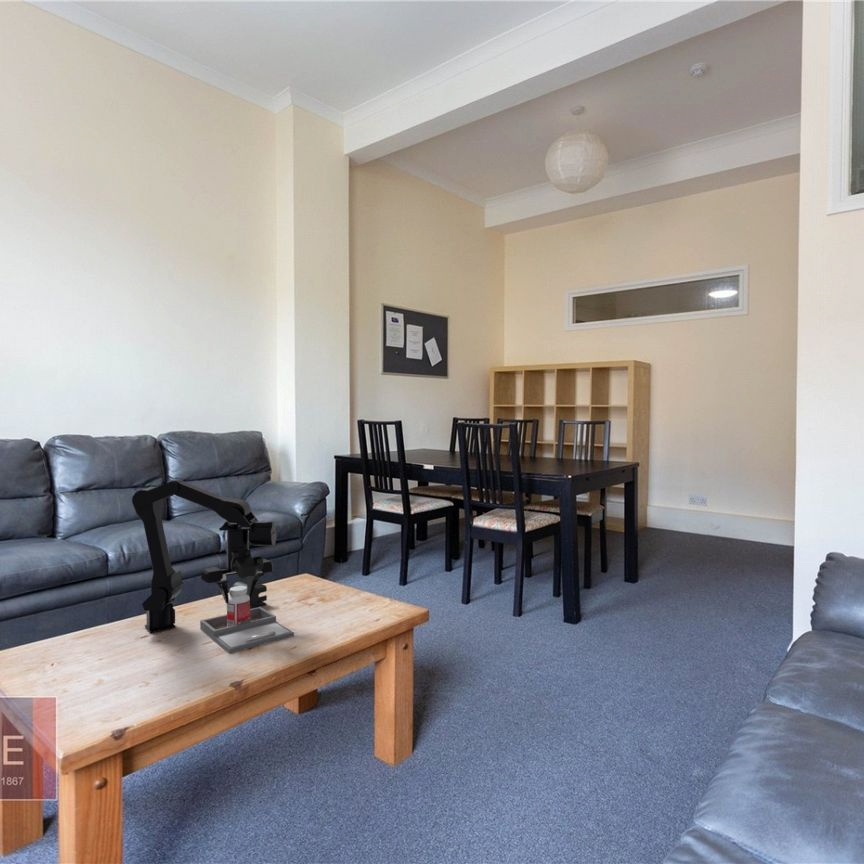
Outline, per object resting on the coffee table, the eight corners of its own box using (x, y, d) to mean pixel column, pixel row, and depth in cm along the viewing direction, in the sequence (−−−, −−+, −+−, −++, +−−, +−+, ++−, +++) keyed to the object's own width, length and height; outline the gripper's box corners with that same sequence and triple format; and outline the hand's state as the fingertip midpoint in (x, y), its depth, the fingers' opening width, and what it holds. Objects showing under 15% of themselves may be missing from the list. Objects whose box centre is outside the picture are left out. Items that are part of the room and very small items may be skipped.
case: (213, 640, 150) (213, 628, 150) (200, 629, 158) (200, 617, 158) (276, 624, 161) (276, 613, 161) (260, 615, 169) (260, 604, 169)
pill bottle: (252, 622, 163) (252, 584, 163) (246, 630, 157) (246, 591, 157) (230, 623, 163) (230, 585, 162) (224, 631, 156) (223, 591, 156)
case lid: (229, 653, 142) (229, 648, 142) (213, 640, 150) (213, 636, 150) (293, 636, 153) (293, 631, 153) (276, 624, 161) (276, 620, 161)
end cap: (229, 604, 179) (229, 583, 179) (249, 599, 185) (249, 578, 185) (248, 611, 173) (247, 589, 173) (267, 605, 179) (267, 584, 179)
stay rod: (246, 642, 145) (246, 639, 145) (244, 641, 146) (244, 637, 146) (275, 635, 151) (275, 631, 151) (274, 634, 151) (274, 630, 151)
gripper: (214, 556, 147) (215, 615, 147) (281, 545, 159) (281, 600, 159) (200, 548, 155) (200, 604, 156) (264, 539, 168) (265, 591, 168)
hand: (238, 600), depth 159 cm, fingers closed on pill bottle, 6 cm apart
